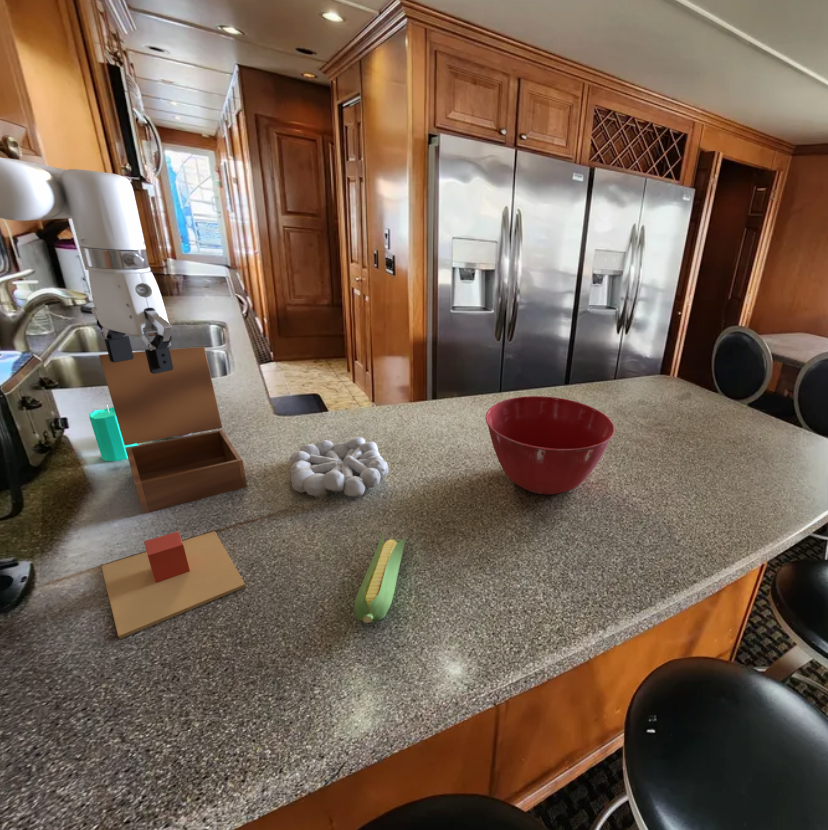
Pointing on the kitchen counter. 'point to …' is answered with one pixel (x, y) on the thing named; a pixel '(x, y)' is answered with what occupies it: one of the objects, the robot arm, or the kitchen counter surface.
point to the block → (167, 556)
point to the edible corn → (379, 582)
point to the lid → (162, 396)
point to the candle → (108, 435)
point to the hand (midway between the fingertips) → (142, 366)
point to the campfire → (337, 467)
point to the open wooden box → (185, 469)
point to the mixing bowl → (548, 441)
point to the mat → (168, 585)
